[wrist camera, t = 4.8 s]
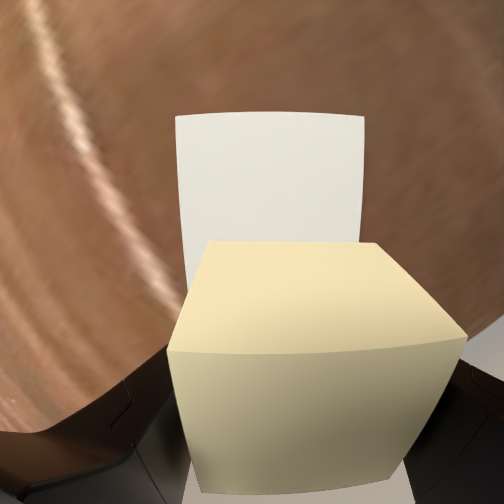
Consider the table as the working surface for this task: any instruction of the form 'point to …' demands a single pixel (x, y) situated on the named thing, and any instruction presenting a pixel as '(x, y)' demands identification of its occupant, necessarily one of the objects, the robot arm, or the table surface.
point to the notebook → (268, 178)
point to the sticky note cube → (305, 365)
